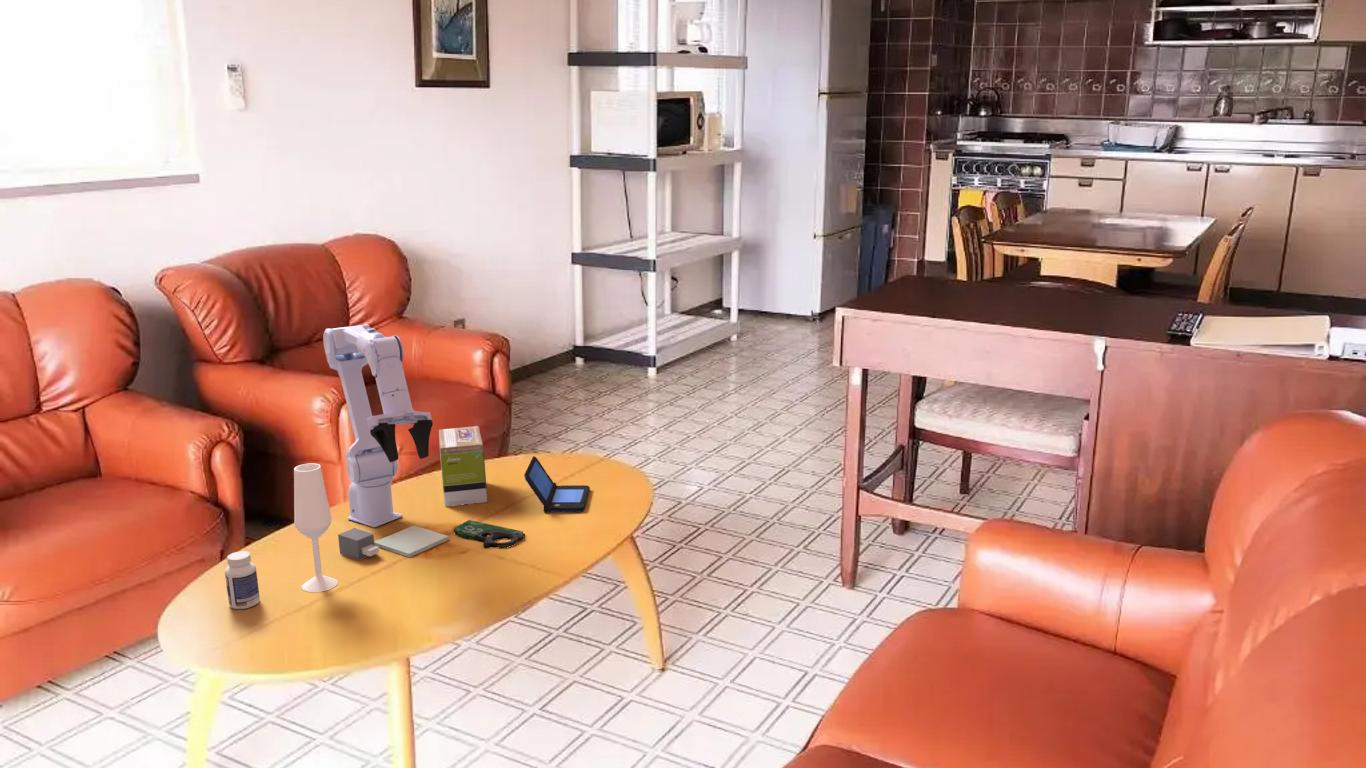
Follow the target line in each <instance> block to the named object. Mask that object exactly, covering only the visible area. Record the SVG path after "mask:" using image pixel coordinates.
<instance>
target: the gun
mask: <svg viewBox="0 0 1366 768" xmlns="http://www.w3.org/2000/svg"><path fill="white" fill-rule="evenodd" d="M453 533H454V535H455V536H457V537H459V538H461V539H465V540H472V541H476V540H477V541H476V542H481V543H482V546H483V547H484V548H483V549H491V548H490V547H493V548H498V547H499V548H498V549H507V547H509V546H510V547H513V546H515V545H517V544H518V543H519V542H522V541H524V540H525V537H526V533H524V531H522V530H518V529H513V528H508V527H505V526H499V525H495V524H490V523H486V522H481V521H476V520H471V519H468V520H466V521H464V522H463V523H460V524H459V525H456V526H455V527H454V528H453ZM503 538H507V539H506V540H509V541H504V542H497V541H498V540H504V539H503ZM497 539H498V540H497ZM510 539H511V540H510ZM523 539H524V540H523ZM495 540H496V541H495ZM521 540H522V541H521ZM517 542H518V543H517ZM516 543H517V544H516ZM514 544H515V545H514ZM512 545H513V546H512Z"/></svg>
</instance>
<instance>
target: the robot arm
mask: <svg viewBox="0 0 1366 768" xmlns="http://www.w3.org/2000/svg"><path fill="white" fill-rule="evenodd" d="M322 341H323V348H324V353H325V357H326V361H327V364H328V365H329V369H332V370H335V371H337V374H338V376H339V378H340V381H341V386H342V389H343V393H344V398H345V402H346V406H347V410H348V415H349V419H350V422H351V426H352V432H353V435H354V439H355V441H354V442H353V443H352V444H351V445H350V447H348V449H347V450H346V453H345V458H346V469H347V473H348V477H349V479H350V481H351V482H350V484H349V487H348V492H347V493H348V501H349V502H348V504H349V511H350V512H349V513H350V515H349V516H347V520H350V521H352V522H356V523H358V524H359V523H360V524H363V525H366V526H368V527H373V528H377V527H380V526H381V525H384V524H386V523H389V522H390V523H391V522H392V521H394V520H397V519H400V518H402V517H403V514H402V513H399V512H395V511H394V504H393V495H392V494H393V493H392V483H391V482H393V481H394V477H395V476H396V475H397V474H398V469H399V468H398V465H399V464H398V460H399V452H398V451H399V450H398V446H397V441H396V426H399V425H412V424H413V425H412V427H410V428H408V429H407V431H408V432H409V434H410V436H411V438H412V440H413V442H414V445H415V449H416V452H417V455H418V458H419V460H423V459H425V458H428V457H429V454H430V453H429V450H430V449H429V447H430V446H429V445H430V436H431V431H432V429H433V428H432V427H433V426H434V425H433V424H434V423H433V422H434V421H433V419H432V414H431V412H430V411H415V410H416V409H413V405H412V401H411V396H410V392H409V389H408V388H409V387H408V384H407V379H406V376H405V371H404V366H403V361H404V348H403V347H404V346H403V344H402V340H401V339H400V337H399V336H398V335H397V334H394V335H392V336H385V335H383V333H382V332H378V331H377V329H376V328H374V327H372V328H371V326H370V325H369V324H367V323H363V324H358V325H351V326H350V325H349V326H343V327H336V328H335V327H334V328H325V330H324V332H323V340H322ZM366 365H368V366H369V368H370V371H371V375H372V376H373V377H374V378H375V382H376V386H377V387H376V388H377V391H378V395H379V399H380V403H381V408H382V412H383V414H377V415H373V414H372V413H373V412H372V409H371V405H370V401H369V397H368V393H367V389H366V385H365V380H364V377H363V372H362V370H363V368H364V367H365V366H366Z"/></svg>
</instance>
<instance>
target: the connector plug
mask: <svg viewBox="0 0 1366 768" xmlns="http://www.w3.org/2000/svg"><path fill="white" fill-rule="evenodd" d="M374 534H375V533H371V532H368V531H365V530H362V529H360V528H355V527H354V528H351V529H349V530H346V531H344V532H341V533H338V534H337V536H338V547H339V554H340V555H342V556H346V557H349V558H351V559H355V560H356V561H361V560H363V559H365V558H367V557H372V556H374V555H376V554H379V553H380V548H379V547H377V546H375V544H374V542H375V535H374Z"/></svg>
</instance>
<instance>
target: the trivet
mask: <svg viewBox="0 0 1366 768" xmlns="http://www.w3.org/2000/svg"><path fill="white" fill-rule="evenodd" d="M449 540H450V537H449V535H446V534H443V533H439V532H436V531H434V530H430V529H426V528H423V527H419V526H418V525H417V526H416V525H411V526H409V527H407V528H404V529H402V530H400V531H398V532H395V533H393V534H390V535H388V536H385V537H383V538H380V539H378V540H376V541H375V540H374V544H375V546H377V547H379V549H383V550H386V551H389V552H392V553H395V554H399V555H402V556H405V557H408V558H410V557H411V558H412V557H413V556H415V555H418V554H420V553H423V552H424V551H427V550H429V549H431V548H433V547H436V546H438V545H440V544H443V543H445V542H447V541H449Z"/></svg>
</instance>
